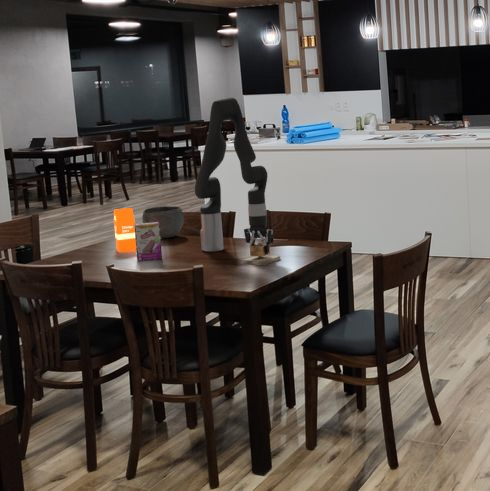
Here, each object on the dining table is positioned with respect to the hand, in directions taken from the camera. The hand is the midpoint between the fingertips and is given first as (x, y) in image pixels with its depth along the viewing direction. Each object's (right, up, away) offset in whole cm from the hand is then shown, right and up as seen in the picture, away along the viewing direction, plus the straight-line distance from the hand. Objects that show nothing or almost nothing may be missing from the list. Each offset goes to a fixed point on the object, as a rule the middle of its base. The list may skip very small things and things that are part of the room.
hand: (260, 253), depth 362 cm
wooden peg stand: (0, -3, +1) cm, 3 cm away
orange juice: (-62, +1, +47) cm, 78 cm away
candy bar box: (-49, -3, +20) cm, 53 cm away
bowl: (-47, +7, +73) cm, 87 cm away
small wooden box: (0, -1, 0) cm, 1 cm away
